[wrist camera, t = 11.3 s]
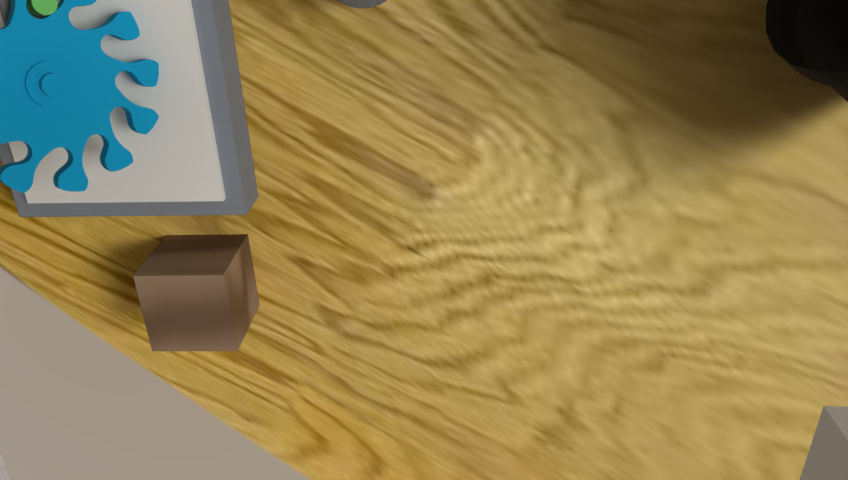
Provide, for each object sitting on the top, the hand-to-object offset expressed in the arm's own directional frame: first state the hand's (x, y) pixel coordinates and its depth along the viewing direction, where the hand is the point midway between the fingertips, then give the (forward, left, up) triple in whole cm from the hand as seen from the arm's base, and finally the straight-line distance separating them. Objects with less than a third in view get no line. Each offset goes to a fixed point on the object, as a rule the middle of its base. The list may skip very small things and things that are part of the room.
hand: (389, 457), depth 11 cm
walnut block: (+13, -14, -29) cm, 35 cm away
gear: (-1, -18, -26) cm, 31 cm away
